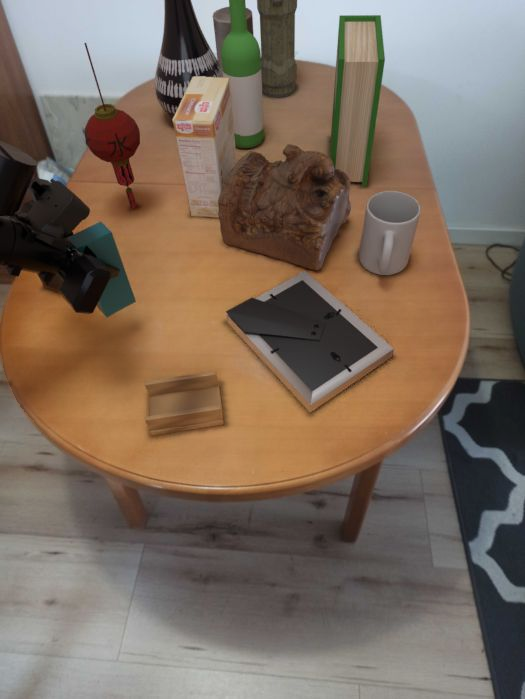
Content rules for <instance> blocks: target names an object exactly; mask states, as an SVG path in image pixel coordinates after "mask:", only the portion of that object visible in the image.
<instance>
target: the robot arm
mask: <svg viewBox="0 0 525 699" xmlns="http://www.w3.org/2000/svg"><path fill="white" fill-rule="evenodd" d="M38 164H39V163H38V162H37V160H35V159H34V158H33V157H31V156H30V155H29V154H27V153H26V152H24V151H22V150H20V149H19V148H17V147H15V146H13V145H11V144H9V143H7V142H5V141H2V140H0V268H1V267H2V268H4V269H5V270H6V272H7V273H8V274H9V275H10V276H14V277H19V276H20V274H21V272H22V271H23V272H28V273H33V274H37V276H38V275H39V276H40V278H41V279H42V280H43V281H47V282H51V280H52V278H53V275H54V273H57V274H58V275H59V276H60V277H61V279H62V280H63V283H62V286H61V288H60V292H61V293H60V294H61V297H62V298H63V299H64V300H65V301H66V303H67V304H68V305H69V307H70V308H71V309H72V310H73V311H74V312H75V313H76V314H85V315H91V314H93V313H94V312H95V310H96V308H97V304H98V302H99V300H100V298H101V296H102V294H103V292H104V290H105V288H106V286H107V284H108V282H109V280H110V279H112V278H115V277H117V276H118V274H119V272H120V270H119V269H118V268H116V267H114V266H112V265H109V264H107V263H105V262H102V261H100V260H98V257H97V256H96V254H95V253H94V252H93V251H92V250H91V249H90V248H89V247H88V246H87V245H86V247H85V249H84V251H83V253H82V252H79V251H78V250H76V249H71V247H70V244H71V241H70V240H69V239H68V238H67V237H69V236H71V235H73V234H74V232H73V231H74V230H76V228H77V227H78V226H79V225H80V223H82V221H85V220H86V219H87V218H88V217H89V215H90V214H91V213H90V212H91V209H90V207H89V206H88V204H86V203H85V202H84V201H83V200H82V199H81V198H80V197H79V196H78V195H77V194H76V193H74V192H73V191H72V190H71V189H70V188H68V187H67V186H66V185H65V184H63V182H62V181H60V180H55V179H54V178H51V179H50V180H47V179H44V178H39V177H34V175H35V172H36V170H37V168H38ZM27 192H29V193H30V196H31V198H32V199H30V200H28V201H26V202H24V203H23V201H24V199H25V196H26V194H27ZM20 208H21V209H20ZM39 276H38V277H39ZM40 278H39V279H40Z"/></svg>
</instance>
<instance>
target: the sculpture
mask: <svg viewBox="0 0 525 699" xmlns="http://www.w3.org/2000/svg"><path fill="white" fill-rule="evenodd" d="M282 154H283V156H284V157H285V158H286V159H285V160H284V161H283V160H275V161H273V162H270V161H269V159H267V158H266V156H264V155H263V154H262V153H260V152H257V151H252V150H249V151H248V152H246V153H245V154H244V155H243V156H241V157H240V158H239V160H237V164H236V165H235V166H234V167H233V168H232V170H231V171H230V173H229V175H228V176H227V178H226V179H225V181H224V185H223V188H222V191H221V193H220V196H219V199H218V205H219V210H218V215H219V218H218V219H219V224H220V227H219V229H220V233H221V236H222V241H223V242H224V243H225V244H227V245H228V246H230V247H233V248H239V249H243V250H246V251H250V252H252V253H257V254H261V255H265V256H267V257H270V258H273V259H277V260H281V261H284V262H287V263H290V264H293V265H296V266H298V267H302V268H305V269H308V270H311V271H318V270H320V269H322V267H323V265H324V261H325V258H326V256H327V253H328V252H329V250H330V248H331V247H332V243H333V241H334V239H335V238H336V237H337V235H338V232H339V230H340V227H342V225H344V224H346V222H347V220H348V218H349V216H350V215H351V214H350V213H351V211H352V210H351V209H352V205H351V201H350V193H351V190H352V189H351V186H352V184H351V182H350V179H349V177H348V176H347V175H346V174H345V173H344V172H342V171H340V170H339V169H334V166H333V162H332V160H331V159H330V156H329V155H327V154H325V153H324V152H320V151H314V150H308V151H307V150H303V149H301V148H300V147H299V146H298V145H295V144H293V143H292V144H291V143H289V144H286V146H284V148H283V149H282Z"/></svg>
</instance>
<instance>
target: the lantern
mask: <svg viewBox="0 0 525 699" xmlns="http://www.w3.org/2000/svg"><path fill="white" fill-rule="evenodd" d="M84 47H85V50H86V54H87V57H88V60H89V64H90V68H91V71H92V73H93V77H94V81H95V84H96V87H97V89H98V94H99V97H100V100H101V103H102V104H99V105H97V106H96V107H95V109H94V114H92V115H91V116H90V117H89V118H88V120H87V122H86V124H85V127H84V138H85V144H86V145H87V147H88V149H89V151H90V152H91V153H92V154H93V155H94V156H95V157H96V158H98V159H100V160H101V161H103V162H106V163H110V164H111V165H112V169H113V172H114V175H115V178H116V182H117V184H118V185H120V186H122V187H123V186H124V187H126V189H125V193H126V197H127V199H128V202H129V203H128V204H129V206H130V209H131V210H133V211H136V210H137V209H138V204H137V201H136V198H135V195H134V190H133V188H132V187H130V185H133V183H134V182H135V176H134V173H133V168H132V165H131V162H130V161H131V160H130V158H132V157H134V156H135V154H136V152H137V150H138V148H139V146H140V144H141V132H140V127H139V125H138V123H137V121H136V120H135V119H134V118H133V117H131V115H130V114H128V113H127V112H125V111H124V110H121V109H118V108H116V106H115V105H114V104H111V103H105V102H104V98H103V96H102V93H101V89H100V85H99V82H98V79H97V74H96V71H95V68H94V65H93V61H92V58H91V54H90V52H89V48H88V44H87V42H84Z"/></svg>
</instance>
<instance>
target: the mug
mask: <svg viewBox="0 0 525 699" xmlns="http://www.w3.org/2000/svg"><path fill="white" fill-rule="evenodd" d="M420 216H421V205H420V203H419V201H417V199H416V198H415V197H413V196H411V194H408V193H406V192H403V191H402V192H401V191H399V190H397V191H396V190H384V191H381V192H377V193H375V194H373V195H372V196H370V198H369V199H368V200H367V203H366V205H365V211H364V218H363V224H362V232H361V239H360V243H359V244H360V245H359V250H358V260H359V263H360V264H361V266H362V267H363V268H364V269H365V270H366V271H368V272H371V273H372V274H375V275H380V276H392V275H395V274H398V273H400V272H402V271H403V270H404V269H405V268H406V267H407V266H408V263H409V260H410V255H411V252H412V246H413V243H414V239H415V235H416V231H417V227H418V224H419V220H420Z"/></svg>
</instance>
